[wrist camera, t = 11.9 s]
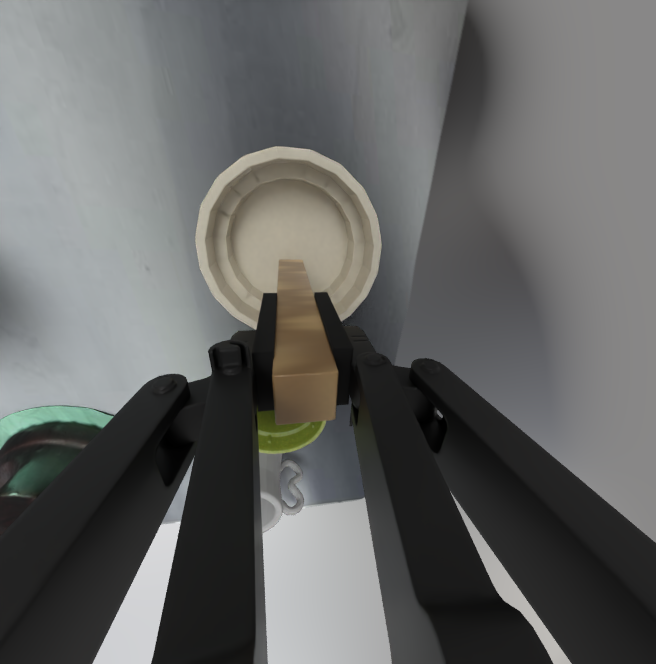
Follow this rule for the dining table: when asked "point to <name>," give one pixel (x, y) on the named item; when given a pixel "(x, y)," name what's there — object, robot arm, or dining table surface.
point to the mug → (277, 489)
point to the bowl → (287, 230)
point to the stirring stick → (301, 352)
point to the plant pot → (284, 434)
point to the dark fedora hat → (40, 452)
